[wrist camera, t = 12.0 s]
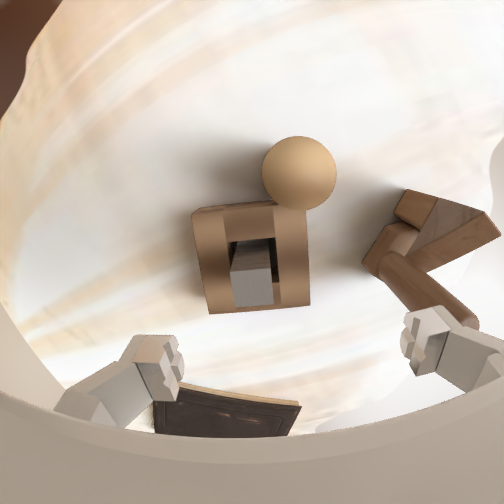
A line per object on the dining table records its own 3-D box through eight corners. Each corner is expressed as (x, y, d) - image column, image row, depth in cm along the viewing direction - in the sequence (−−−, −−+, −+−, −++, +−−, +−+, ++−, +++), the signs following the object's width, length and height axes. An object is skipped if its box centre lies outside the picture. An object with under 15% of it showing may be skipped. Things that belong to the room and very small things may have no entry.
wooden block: (425, 204, 30) (532, 248, 13) (380, 275, 33) (457, 365, 16) (405, 187, 29) (516, 221, 12) (359, 262, 32) (434, 352, 15)
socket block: (199, 208, 31) (190, 215, 27) (299, 197, 30) (304, 202, 26) (214, 297, 34) (209, 314, 31) (305, 289, 34) (310, 305, 30)
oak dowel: (260, 146, 29) (259, 137, 19) (311, 145, 28) (334, 136, 19) (263, 197, 30) (264, 212, 21) (313, 195, 30) (337, 209, 21)
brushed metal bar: (238, 238, 32) (229, 271, 22) (267, 235, 32) (270, 268, 22) (242, 264, 33) (235, 307, 23) (270, 262, 33) (273, 304, 23)
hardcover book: (155, 371, 40) (151, 381, 37) (300, 397, 40) (301, 407, 38) (157, 426, 44) (154, 435, 42) (275, 447, 45) (275, 456, 43)
